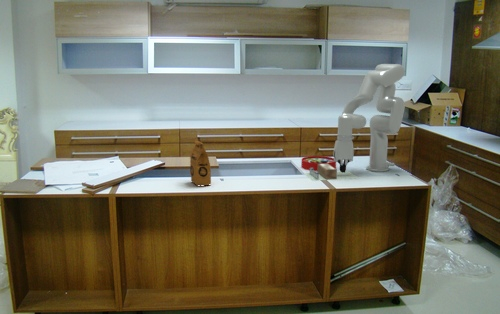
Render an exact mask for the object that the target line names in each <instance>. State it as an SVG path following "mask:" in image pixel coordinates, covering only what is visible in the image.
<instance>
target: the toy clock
mask: <svg viewBox="0 0 500 314" xmlns="http://www.w3.org/2000/svg"><path fill="white" fill-rule="evenodd" d="M300 163H301V165H300V166H301V168H302V169H304V170H307V171H310V169H309V168H314V169H313V170H314V171H317V168H318V164H329V165H331V166H332V167H334V168H335V169H337V162H335V161H334V157H331V156H325V155H324V156H323V155H312V156H311V155H310V156H309V155H308V156H305V157H302V158H301V162H300Z"/></svg>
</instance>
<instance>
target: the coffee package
mask: <svg viewBox="0 0 500 314" xmlns="http://www.w3.org/2000/svg"><path fill="white" fill-rule="evenodd" d="M194 145H195V146H194V147H193V148H192V151H191V153H190V156H189V157H190V158H189V159H190V162H189V163H190V164H189V166H190V167H189V168H190V170H189V174H190V181H191V182H192V183H193V184H194V183H195V184H196V185H195V184H194V185H195V186H197V185H209V184H211V185H212V175H211V174H212V171H211V168H212V167H211V163H210V158H209V156H208V155H209V154H208V153H207V151H206V148H205V146H204V143H203V142H201V141H200V140H199V141H198V140H195V141H194Z"/></svg>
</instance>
